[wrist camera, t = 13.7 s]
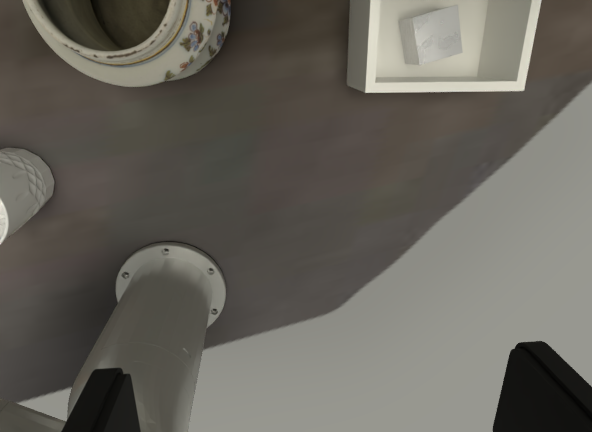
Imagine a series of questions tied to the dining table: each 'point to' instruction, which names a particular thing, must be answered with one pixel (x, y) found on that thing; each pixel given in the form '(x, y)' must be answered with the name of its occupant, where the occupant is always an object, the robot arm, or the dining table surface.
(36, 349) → the dining table surface
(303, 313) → the dining table surface
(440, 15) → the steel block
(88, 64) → the apothecary jar
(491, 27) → the tub
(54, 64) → the dining table surface
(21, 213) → the white cup
